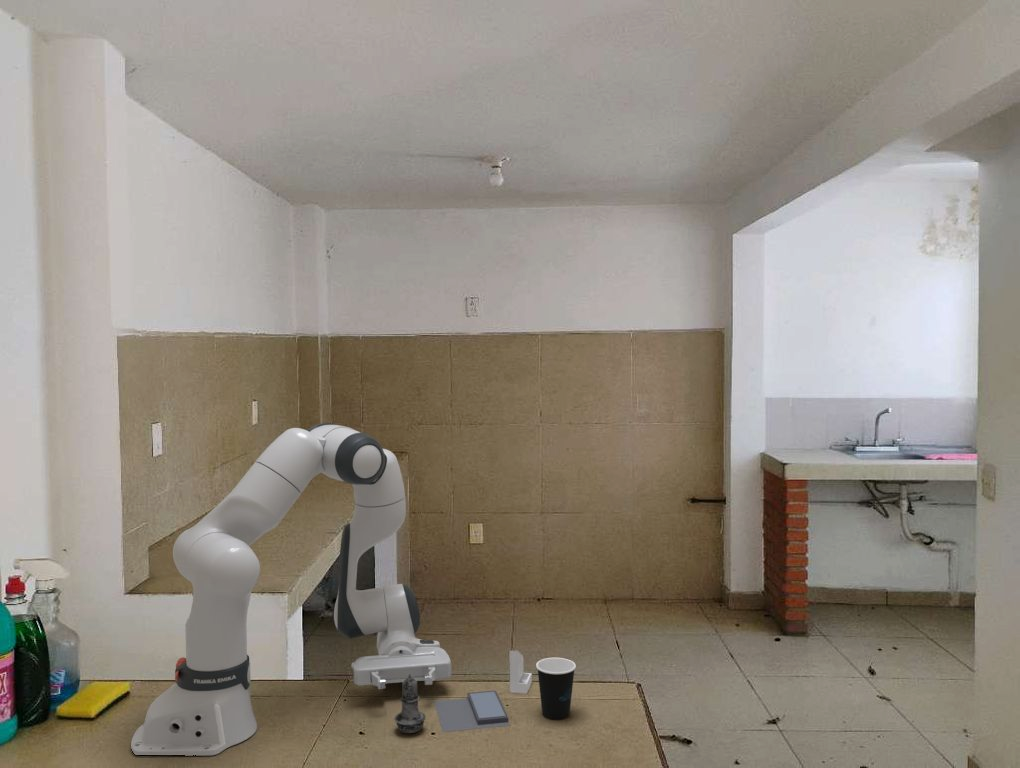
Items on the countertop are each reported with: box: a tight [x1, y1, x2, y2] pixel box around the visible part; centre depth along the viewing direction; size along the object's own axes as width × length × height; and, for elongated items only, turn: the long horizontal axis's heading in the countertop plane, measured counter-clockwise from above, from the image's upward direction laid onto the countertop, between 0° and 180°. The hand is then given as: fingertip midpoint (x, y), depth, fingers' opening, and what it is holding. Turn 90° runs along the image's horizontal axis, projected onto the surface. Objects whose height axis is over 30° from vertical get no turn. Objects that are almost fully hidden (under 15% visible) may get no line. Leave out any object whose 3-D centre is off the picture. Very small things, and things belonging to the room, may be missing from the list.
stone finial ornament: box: [394, 674, 426, 734], centre depth 162 cm, size 6×6×12 cm
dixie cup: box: [535, 657, 577, 721], centre depth 169 cm, size 8×8×11 cm
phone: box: [466, 690, 509, 725], centre depth 172 cm, size 6×13×1 cm, turn 12°
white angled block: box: [509, 650, 533, 695], centre depth 181 cm, size 4×10×9 cm, turn 168°
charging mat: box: [433, 697, 511, 733], centre depth 170 cm, size 13×14×1 cm
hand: (405, 683), depth 171 cm, fingers open, 8 cm apart
